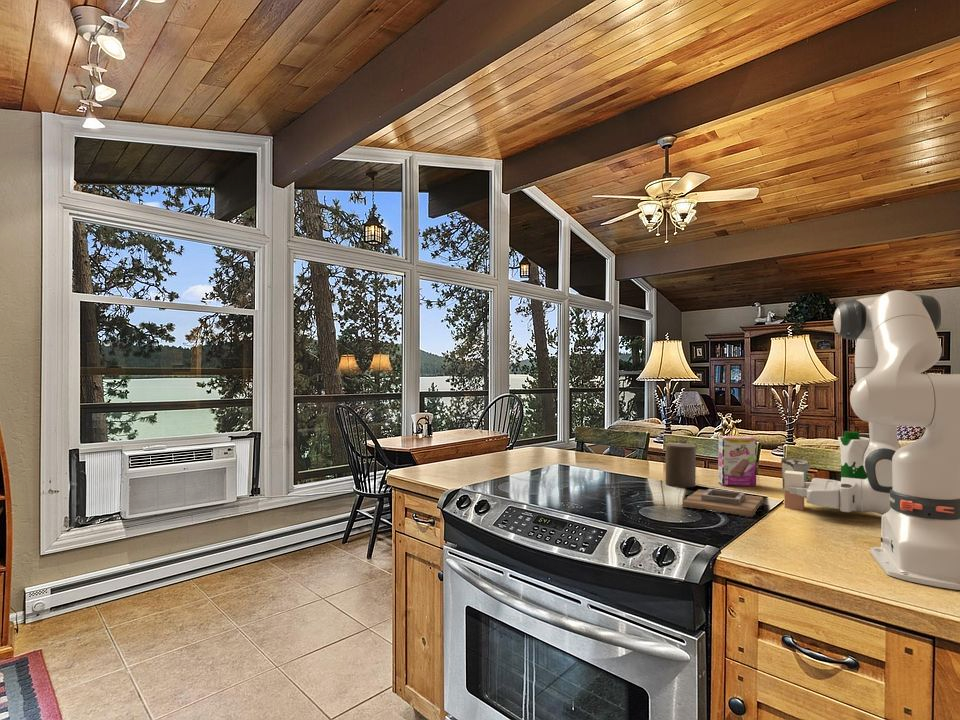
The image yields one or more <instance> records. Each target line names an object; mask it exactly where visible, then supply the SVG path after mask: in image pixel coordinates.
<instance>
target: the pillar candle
mask: <svg viewBox="0 0 960 720" xmlns="http://www.w3.org/2000/svg"><path fill="white" fill-rule="evenodd" d="M696 448H697V447H696V445H695V444H692V443H684V442H683V443H682V442H681V441H679V442H668V443H665V484H666V485H667V484H668V485H667V486H670V485H671V487H674V486H678V487H677V488H695V487H696V483H697V482H696V477H697V476H696V472H697V471H696V468H697V467H696V465H697V464H696V463H697V462H696V458H697V455H696V451H697V449H696Z"/></svg>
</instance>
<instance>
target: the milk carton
mask: <svg viewBox="0 0 960 720" xmlns="http://www.w3.org/2000/svg"><path fill="white" fill-rule="evenodd" d="M837 439H838V443H839V449H840V478H841V477H846V478H856V479H866V478H867V474H866V472H865V470H864V466H863V460H862V457H863V453H864V450H865V448H866V447H867V445H868V443H869V437H864V436H860V432H859V431H854V430H844V431H843V436H838V437H837Z"/></svg>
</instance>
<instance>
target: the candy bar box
mask: <svg viewBox="0 0 960 720" xmlns="http://www.w3.org/2000/svg"><path fill="white" fill-rule="evenodd" d="M717 439H718V451H717V453H718V455H717V456H718V457H717V458H718V461H717V462H718V467H717V469H718V470H717V471H718V472H717V473H718V474H717V481H718V483H719V485H721V486H722V487H723V486H724V487H756V486H757V438H756V437H753V436H736V435H735V436H732V435H729V436H728V435H718V438H717Z"/></svg>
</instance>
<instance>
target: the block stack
mask: <svg viewBox="0 0 960 720" xmlns="http://www.w3.org/2000/svg"><path fill="white" fill-rule="evenodd" d="M790 487H797V488H804V472H798V471H787V470H786V471H785V473H784V489H783V490H784V494H783V495H784V509H789V510H790V509H791V510H797V511H798V510H799V511H804V509H805V497H803V496H800V495H796V494H790V493H789V488H790ZM803 508H804V509H803Z"/></svg>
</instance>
